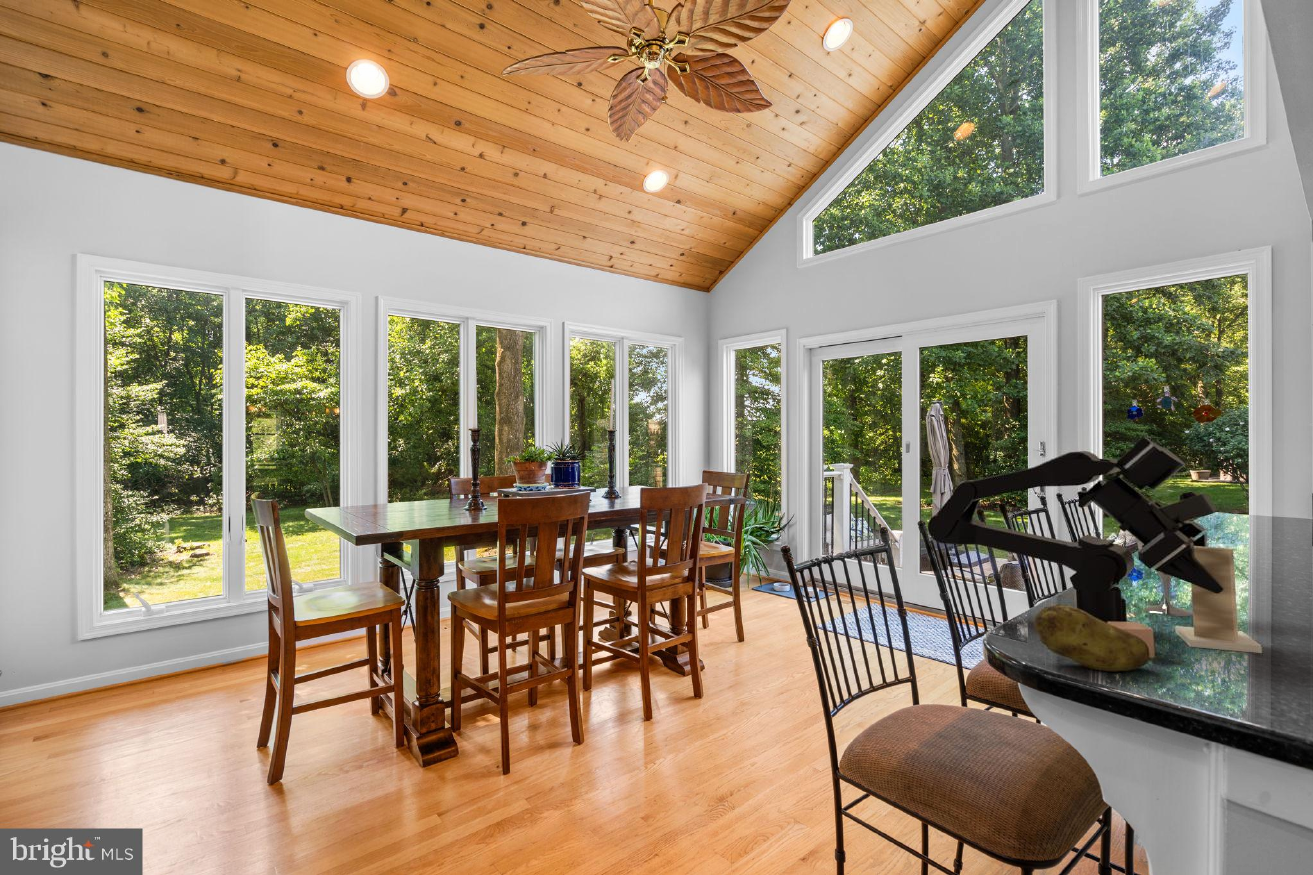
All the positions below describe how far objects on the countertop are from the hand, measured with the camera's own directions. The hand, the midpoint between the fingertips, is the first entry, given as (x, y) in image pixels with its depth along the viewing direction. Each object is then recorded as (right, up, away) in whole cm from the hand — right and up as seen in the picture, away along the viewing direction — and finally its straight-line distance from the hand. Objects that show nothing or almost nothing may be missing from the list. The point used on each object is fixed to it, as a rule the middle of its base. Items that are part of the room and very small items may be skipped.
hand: (1225, 586), depth 93 cm
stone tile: (-1, -9, +1) cm, 9 cm away
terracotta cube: (-16, -9, -2) cm, 19 cm away
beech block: (-1, -8, +1) cm, 8 cm away
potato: (-25, -9, -7) cm, 28 cm away
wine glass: (+7, -9, +18) cm, 22 cm away
